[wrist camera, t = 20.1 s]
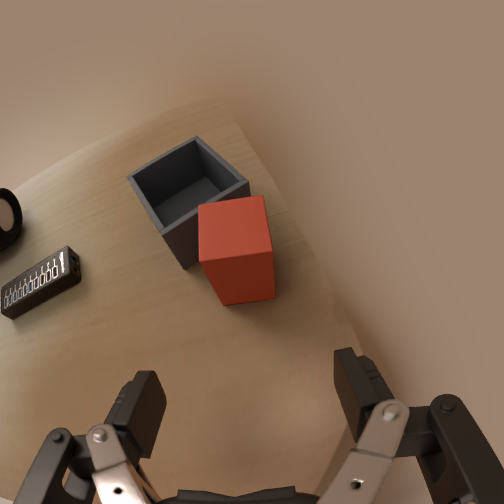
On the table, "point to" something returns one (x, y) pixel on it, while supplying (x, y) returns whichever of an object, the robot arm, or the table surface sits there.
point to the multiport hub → (40, 283)
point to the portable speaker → (9, 217)
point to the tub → (185, 192)
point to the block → (237, 249)
